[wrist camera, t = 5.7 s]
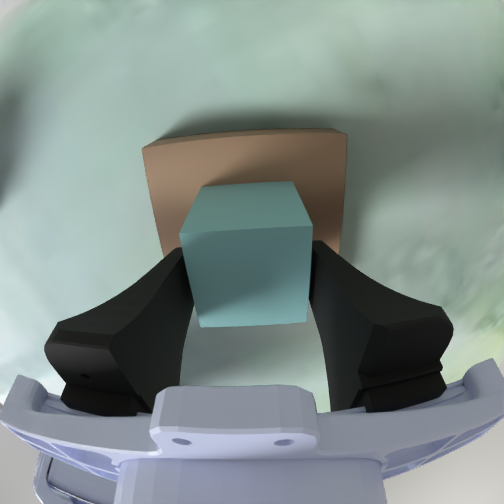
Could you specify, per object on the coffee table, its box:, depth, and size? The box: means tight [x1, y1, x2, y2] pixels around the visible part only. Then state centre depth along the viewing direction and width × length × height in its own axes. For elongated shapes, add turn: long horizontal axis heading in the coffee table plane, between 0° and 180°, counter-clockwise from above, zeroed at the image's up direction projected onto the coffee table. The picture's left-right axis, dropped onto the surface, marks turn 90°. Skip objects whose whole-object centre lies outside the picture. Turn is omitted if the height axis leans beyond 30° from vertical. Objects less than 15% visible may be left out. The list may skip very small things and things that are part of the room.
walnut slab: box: [142, 128, 347, 305], centre depth 16 cm, size 10×10×3 cm
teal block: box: [179, 181, 313, 327], centre depth 13 cm, size 4×4×5 cm
